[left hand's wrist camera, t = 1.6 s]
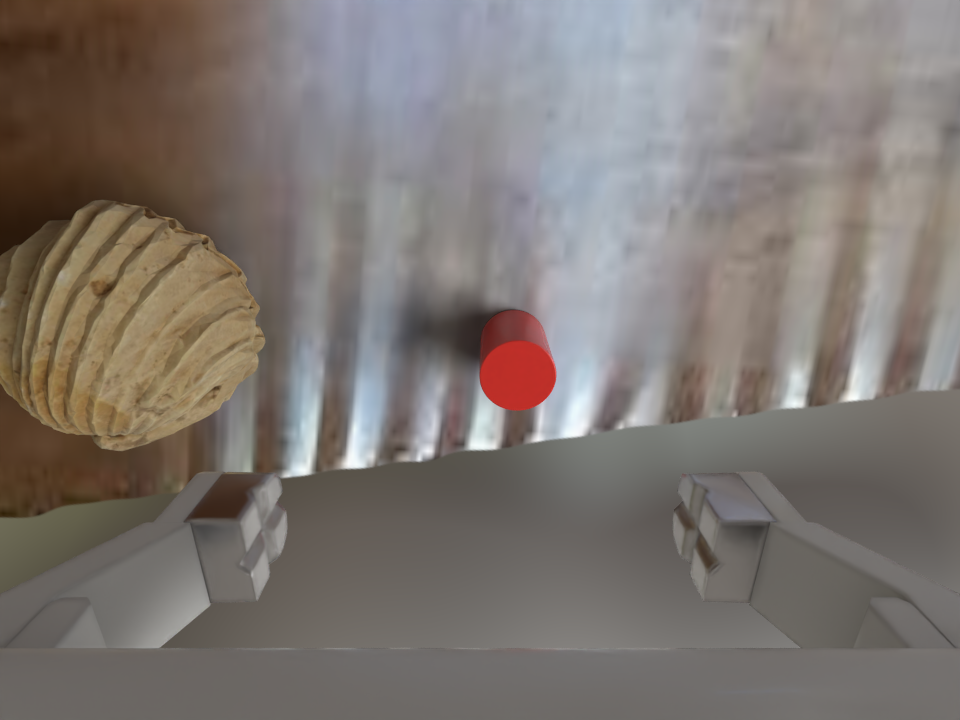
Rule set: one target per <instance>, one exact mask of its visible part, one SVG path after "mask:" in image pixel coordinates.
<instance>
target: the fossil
mask: <svg viewBox="0 0 960 720" xmlns="http://www.w3.org/2000/svg"><path fill="white" fill-rule="evenodd" d="M246 281H247V278H246V276H245V275H244V273H243V272H242V270H241V269H240V268H239V267H238V266H237V265H236V264H235V263H234V262H233V261H232V260H231V259H229V258H228V257H226V256H225V255H223V254H222V253H220V252H219V251H217V250H216V248H215V245H214V243H213V241H212V240H211V239H210V238H209V237H208V236H206V235H202V234H197V233H193V232H190V231H186V230H185V229H184V227H183V226H182V225H181V224H180V223H179V222H178V221H177V220H176V219H174V218H168V217H163V216H159V215H157V214H156V213H155V212H153V211H152V210H151V209H150V208H148V207H142V206H136V205H130V204H124V203H122V202H118V201H109V200H95V201H92V202H90V203H89V204H87V205H85V206H84V207H82V208H81V209H79V210H78V211H76V212H75V214H74V216H73V218H72V219H71V220H52V221H48V222H47V223H46V224H45V225H43V226H42V228H41V229H40V230H39V231H37V232H36V233H35V234H34V235H32V236H31V237H30V238H29V239H27V240H26V241H25V242H24V243H22V244H21V245H15V246H13V247H12V248H11V249H10V250H8V251H7V252H5V253H3V254H2V255H1V256H0V383H1V385H2V386H3V388H4V389H5V391H6V392H7V394H9V395H10V396H12V397H13V398H14V399H15V400H17V402H18V403H19V405H20V406H21V407H23V408H24V409H26V410H27V411H28V412H30V414H31V415H32V416H33V417H35V418H37V419H39V420H40V421H41V423H42V424H45V425H48V426H50V427H52V428H53V429H55V430H58V431H61V432H64V433H67V434H68V433H74V434H76V435H80V434H86V435H91V436H92V438H93V441H94V442H95V443H96V444H97V445H98V446H99V447H100V448H102V449H109V450H117V451H124V450H128V449H131V448H134V447H138V446H141V445H145V444H148V443H150V442H153V441H155V440H157V439H160V438H163V437H165V436H168V435H171V434H173V433H175V432H177V431H179V430H180V429H182V428H184V427H187V426H189V425H191V424H193V423H195V422H197V421H199V420H201V419H203V418H205V417H207V416H209V415H210V414H212V413H213V412H215V411H216V410H218V409H219V408H220V406H221V404H222V402H225V401H227V400H229V399H230V397H231V396H232V394H233V392H234V391H235V389H236V386H237V385H238V384H239V383H240V382H242V381H243V380H245V379H246V378H247V377H248V376H250V375H251V374H253V373H254V372H255V371H256V369H257V366H258V355H257V353H258V352H259V351H260V350H261V349H262V348H263V346H264V344H265V337H264V334H263V332H262V330H261V329H260V327H259V326H258V325H256V322H255V318H256V316H257V314H258V312H259V310H260V306H259V305H258V304H257V303H256V301H255V300H254V298H253V296H252V295H251V294H250V292H249V290H248V289H247V287H246V284H245V283H246Z"/></svg>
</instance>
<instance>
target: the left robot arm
mask: <svg viewBox="0 0 960 720" xmlns="http://www.w3.org/2000/svg"><path fill="white" fill-rule="evenodd" d="M282 491H283V490H282V486H281V481H280V477H279V476H278V475H277V474H276V473H250V472H227V473H226V472H202V473H198V474H196V475H195V476H194V477H193V478H192V480H191V481H190V482H189V483H188V484H187V485H186V486H185V487H184V489H183V490H182V491H181V492H180V493H179V494H178V495H177V496H176V497H175V499H174V500H173V501H172V502H171V503H170V504H169V505H168V506H167V508H166V509H165V510H164V511H163V512H162V513H161V514H160V515H159V516H158V518H157V519H156V520H155V521H154V522H153V523H143V524H141V525H139V526H137V527H135V528H133V529H131V530H129V531H127V532H125V533H123V534H121V535H119V536H117V537H115V538H113V539H110V540H109V541H106V542H105V543H102V544H100V545H98V546H96V547H94V548H92V549H90V550H88V551H86V552H84V553H82V554H80V555H78V556H76V557H74V558H72V559H70V560H68V561H66V562H64V563H62V564H60V565H58V566H56V567H54V568H52V569H50V570H47V571H45V572H43V573H41V574H39V575H37V576H35V577H33V578H31V579H29V580H27V581H25V582H23V583H21V584H19V585H17V586H15V587H13V588H11V589H9V590H7V591H5V592H3V593H1V594H0V720H960V594H959V593H957V592H955V591H953V590H951V589H949V588H947V587H945V586H943V585H941V584H939V583H937V582H935V581H933V580H931V579H928V578H927V577H924V576H922V575H920V574H918V573H916V572H914V571H912V570H910V569H908V568H906V567H904V566H902V565H900V564H898V563H896V562H894V561H892V560H890V559H888V558H886V557H884V556H882V555H880V554H878V553H876V552H874V551H872V550H870V549H868V548H866V547H864V546H862V545H860V544H858V543H856V542H853V541H851V540H849V539H847V538H845V537H843V536H841V535H839V534H837V533H835V532H833V531H831V530H829V529H827V528H825V527H823V526H821V525H819V524H817V523H807V522H806V521H805V520H804V519H803V518H802V516H801V515H800V514H799V513H798V512H797V511H796V510H795V509H794V508H793V506H792V505H791V504H790V503H789V502H788V501H787V500H786V499H785V497H784V496H783V495H782V494H781V493H780V492H779V491H778V490H777V489H776V487H775V486H774V485H773V484H772V483H771V482H770V481H769V480H768V478H767V477H766V476H765V475H764V474H762V473H760V472H733V473H698V474H682V476H681V478H680V480H679V485H678V490H677V491H678V493H679V495H680V497H681V498H682V500H683V501H682V502H681V503H680V504H679V505H678V506H677V507H676V508H675V509H674V516H673V536H674V540H675V544H676V547H677V550H678V552H679V554H680V556H681V557H682V558H683V559H684V560H686V561H687V562H689V563H690V564H691V570H690V576H691V578H692V580H693V582H694V584H695V586H696V588H697V590H698V592H699V594H700V596H701V598H702V600H703V601H704V602H737V603H750V604H749V605H750V606H751V607H753V608H754V609H755V610H756V611H757V612H758V613H760V614H761V615H762V616H763V617H764V618H766V619H767V620H768V621H769V622H770V623H772V624H773V625H774V626H775V627H776V628H778V629H779V630H780V631H781V632H783V633H784V634H785V635H786V636H787V637H788V638H790V639H791V640H792V641H793V642H794V643H796V644H797V645H798V646H799V647H801V648H160V647H161V646H162V645H163V644H164V643H166V642H167V641H168V640H169V639H170V638H172V637H173V636H174V635H175V634H177V633H178V632H179V631H180V630H181V629H183V628H184V627H185V626H186V625H187V624H188V623H190V622H191V621H192V620H193V619H195V618H196V617H197V616H198V615H199V614H201V613H202V612H203V611H204V610H205V609H207V608H208V607H209V606H210V603H222V602H256V601H257V600H258V598H259V596H260V594H261V592H262V590H263V588H264V586H265V584H266V582H267V580H268V578H269V576H270V570H269V564H270V563H271V562H273V561H274V560H276V559H277V558H278V557H279V556H280V554H281V552H282V549H283V547H284V544H285V539H286V535H287V515H286V509H285V508H284V507H283V506H282V505H281V504H280V503H279V502H278V501H277V500H278V498H279V497H280V495H281V493H282Z"/></svg>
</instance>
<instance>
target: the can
mask: <svg viewBox="0 0 960 720" xmlns="http://www.w3.org/2000/svg"><path fill="white" fill-rule="evenodd" d="M555 382H556V367H555V364H554V361H553V357H552V354H551V351H550V348H549V345H548V342H547V339H546V336H545V332H544V330H543V327H542V325H541V324H540V322H539V321H538V320H537V319H536V318H535V317H534V316H532V315H531V314H529V313H527V312H524V311H520V310H508V311H503V312H501V313H498V314H497V315H495V316H493V317H492V318H491V319H490V320H489V321H488V322H487V323H486V325H485V327H484V328H483V331H482V334H481V342H480V384H481V387H482V389H483V391H484V393H485V395H486V396H487V397H488V398H489V399H490V400H491V401H492V402H493V403H495V404H496V405H498V406H500V407H502V408H505V409H509V410H526V409H530V408H532V407H535V406H537V405H539V404H540V403H541V402H543V401H544V400H545V399H546V398H547V397H548V396H549V395H550V393H551V392H552V390H553V388H554V385H555Z"/></svg>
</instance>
